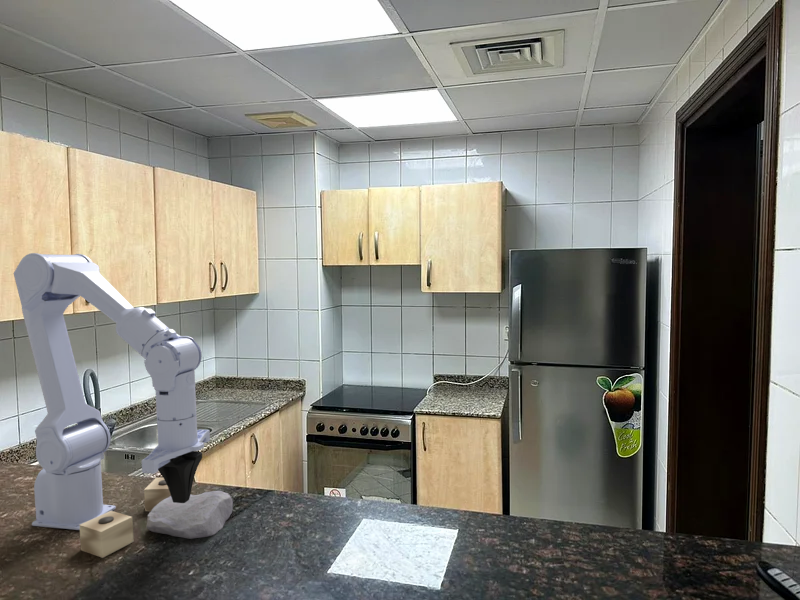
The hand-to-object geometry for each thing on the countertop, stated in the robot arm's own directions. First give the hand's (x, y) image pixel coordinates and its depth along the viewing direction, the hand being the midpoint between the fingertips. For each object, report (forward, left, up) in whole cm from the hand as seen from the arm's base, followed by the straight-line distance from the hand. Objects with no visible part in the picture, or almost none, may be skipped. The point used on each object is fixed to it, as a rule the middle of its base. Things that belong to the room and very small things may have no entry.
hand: (181, 501), depth 84 cm
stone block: (0, +2, -5) cm, 6 cm away
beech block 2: (-9, +8, -5) cm, 13 cm away
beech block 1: (-9, -6, -5) cm, 12 cm away
